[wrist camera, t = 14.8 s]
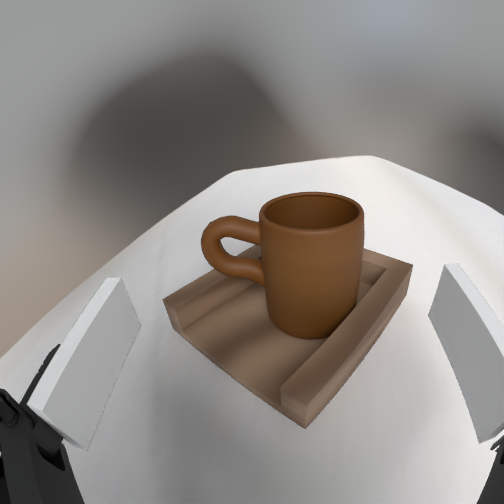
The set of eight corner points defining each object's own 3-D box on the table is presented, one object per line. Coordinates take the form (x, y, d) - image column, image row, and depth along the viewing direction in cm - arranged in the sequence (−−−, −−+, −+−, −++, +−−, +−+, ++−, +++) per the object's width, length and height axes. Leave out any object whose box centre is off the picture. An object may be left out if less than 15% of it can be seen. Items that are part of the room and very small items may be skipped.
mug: (210, 347, 22) (181, 242, 17) (222, 289, 29) (205, 198, 24) (363, 339, 21) (381, 229, 16) (345, 282, 27) (350, 188, 23)
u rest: (173, 328, 26) (162, 299, 24) (290, 251, 36) (288, 225, 34) (305, 428, 16) (307, 403, 14) (406, 294, 26) (413, 264, 24)
